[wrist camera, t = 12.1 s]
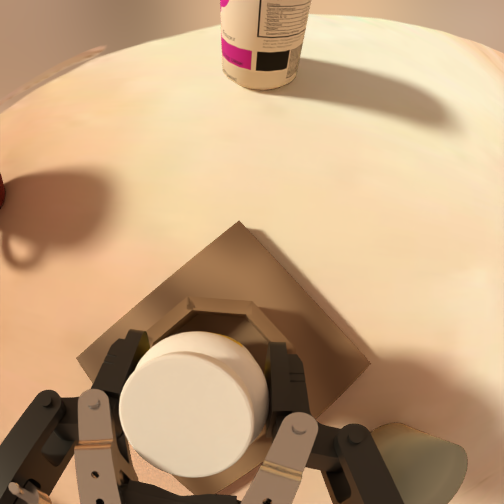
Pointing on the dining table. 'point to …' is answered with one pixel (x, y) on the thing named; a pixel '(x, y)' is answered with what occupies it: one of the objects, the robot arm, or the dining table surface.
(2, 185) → the mug
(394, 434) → the sage green domed cylinder
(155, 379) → the supplement bottle
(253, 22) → the supplement can
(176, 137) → the dining table surface
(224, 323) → the caddy
